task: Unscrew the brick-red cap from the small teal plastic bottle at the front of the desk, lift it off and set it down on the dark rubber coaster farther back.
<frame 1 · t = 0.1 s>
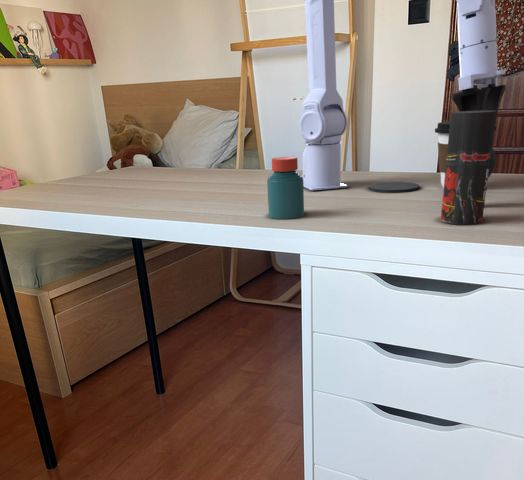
hand: (481, 134, 91), 11 cm above the table, tool pointing down, fingers open, 7 cm apart
deodorant: (460, 221, 80), on the table
bottle: (286, 215, 89), on the table
coffee cup: (458, 188, 104), on the table
light bulb: (471, 207, 88), on the table
coaster: (393, 188, 108), on the table
cap: (284, 160, 86), point 9 cm above the table, screwed on, not yet turned
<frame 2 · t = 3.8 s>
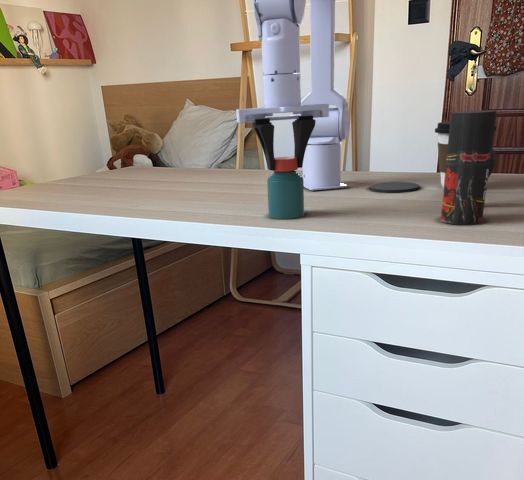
hand: (284, 168, 86), 8 cm above the table, tool pointing down, fingers closed on cap, 4 cm apart
cap: (284, 160, 86), point 9 cm above the table, screwed on, not yet turned, touching gripper
everything else where it was.
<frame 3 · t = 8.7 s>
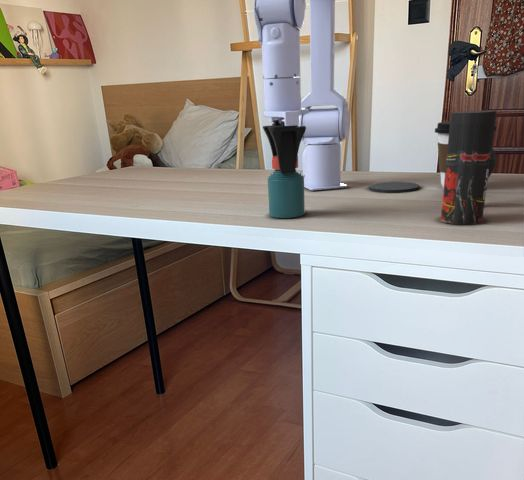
hand: (285, 171, 86), 7 cm above the table, tool pointing down, fingers closed on cap, 4 cm apart
bottle: (286, 214, 90), on the table
cap: (285, 158, 86), point 9 cm above the table, turned 81° so far, risen 0.1 cm, still on its thread, touching gripper
everything else where it was.
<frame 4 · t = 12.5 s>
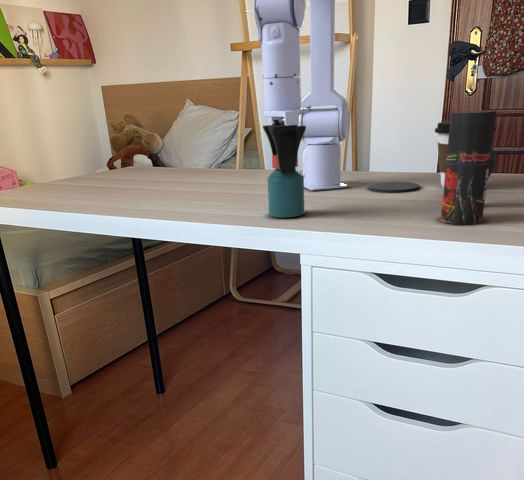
hand: (285, 171, 86), 7 cm above the table, tool pointing down, fingers closed on cap, 4 cm apart
cap: (284, 157, 85), point 9 cm above the table, turned 163° so far, risen 0.2 cm, still on its thread, touching gripper
everything else where it was.
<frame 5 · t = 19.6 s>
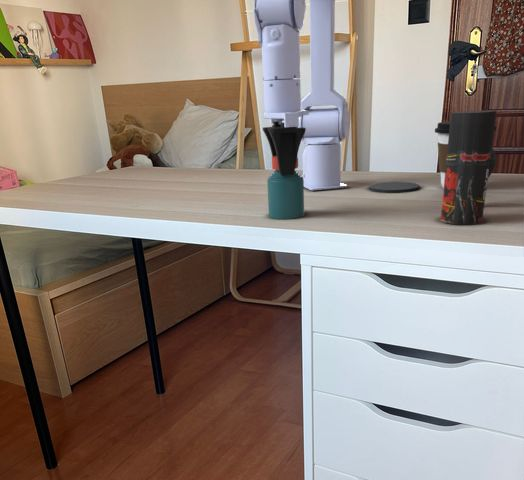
hand: (284, 173, 86), 7 cm above the table, tool pointing down, fingers closed on cap, 4 cm apart
bottle: (286, 215, 90), on the table
cap: (284, 158, 86), point 9 cm above the table, turned 244° so far, risen 0.2 cm, still on its thread, touching gripper
everything else where it was.
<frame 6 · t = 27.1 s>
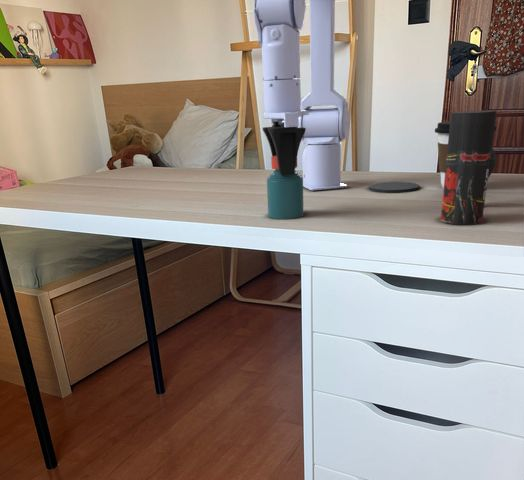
hand: (284, 173, 86), 7 cm above the table, tool pointing down, fingers closed on cap, 4 cm apart
bottle: (285, 215, 90), on the table, touching gripper
cap: (284, 158, 86), point 9 cm above the table, turned 325° so far, risen 0.3 cm, still on its thread, touching gripper
everything else where it was.
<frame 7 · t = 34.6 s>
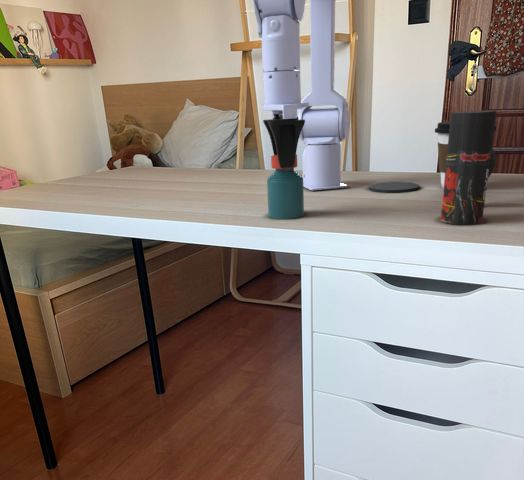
hand: (284, 165, 86), 8 cm above the table, tool pointing down, fingers closed on cap, 4 cm apart
bottle: (286, 215, 90), on the table
cap: (284, 157, 85), point 9 cm above the table, off its thread, touching gripper
everything else where it was.
when the fingers open (1 cm above the table, at t = 41.5 s): cap stays where it is, resting on coaster.
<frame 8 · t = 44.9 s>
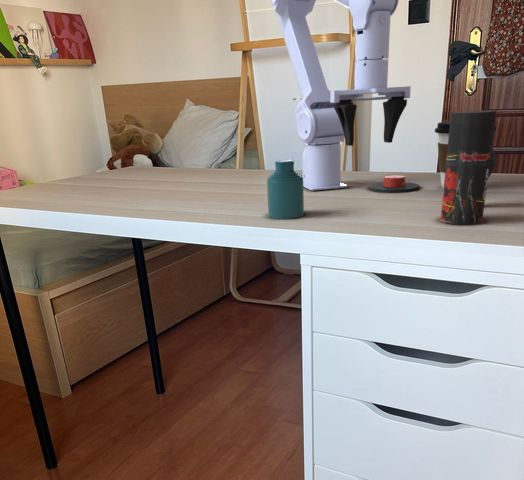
hand: (368, 143, 98), 9 cm above the table, tool pointing down, fingers open, 7 cm apart
cap: (394, 178, 107), point 2 cm above the table, off its thread, touching coaster
everything else where it was.
at the end: cap came off its thread; cap inside the target area on the coaster (0.0 cm from its centre), point 2.0 cm above the coaster's base; the gripper is holding nothing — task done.
